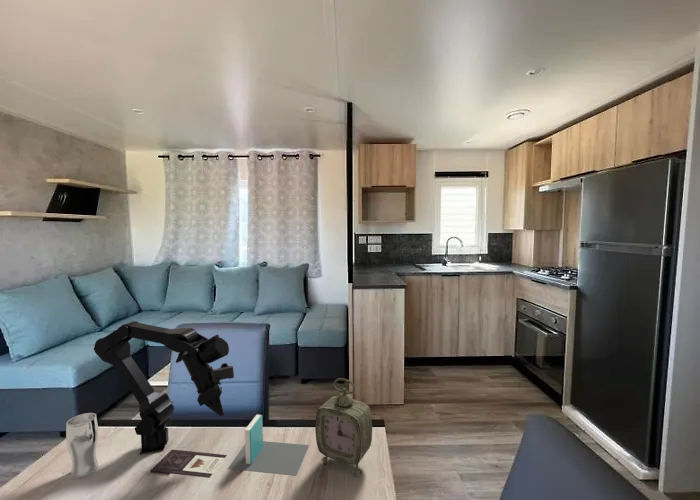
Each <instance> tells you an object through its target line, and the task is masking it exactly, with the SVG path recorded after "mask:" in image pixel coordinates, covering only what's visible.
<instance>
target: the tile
mask: <svg viewBox="0 0 700 500" xmlns="http://www.w3.org/2000/svg"><path fill="white" fill-rule="evenodd" d="M263 427H264V426H263V414H256V415H255V416H254V417H253V419H252V420H251V421H250V422H249V424H248V425H247V426H246V428H245V429H244V445H245V452H246V464H252V463H253V462H254V460H255V458H256V457H257V455H258V454H259V452H260V451H261V449H262V447H263V441H264V433H263V431H264V430H263Z"/></svg>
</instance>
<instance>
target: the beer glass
mask: <svg viewBox="0 0 700 500" xmlns="http://www.w3.org/2000/svg"><path fill="white" fill-rule="evenodd" d="M97 418H98V417H97V413H94V412H87V413H82V414H78V415H76V416H73V417H72V418H70V419H68V421H67V422H66V429H65V431H66V432H65V437H66V438H65V441H66V446H67V449H68V453H69V455H70V459H71V460H70V461H71V470H70V477H71V478H72V479H80V478H85V477H87V476H89V475H92V474H93V473H94V472H96V471H97V470H98V467H99V463H98V459H97V446H98V439H99V425H98V419H97Z"/></svg>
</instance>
